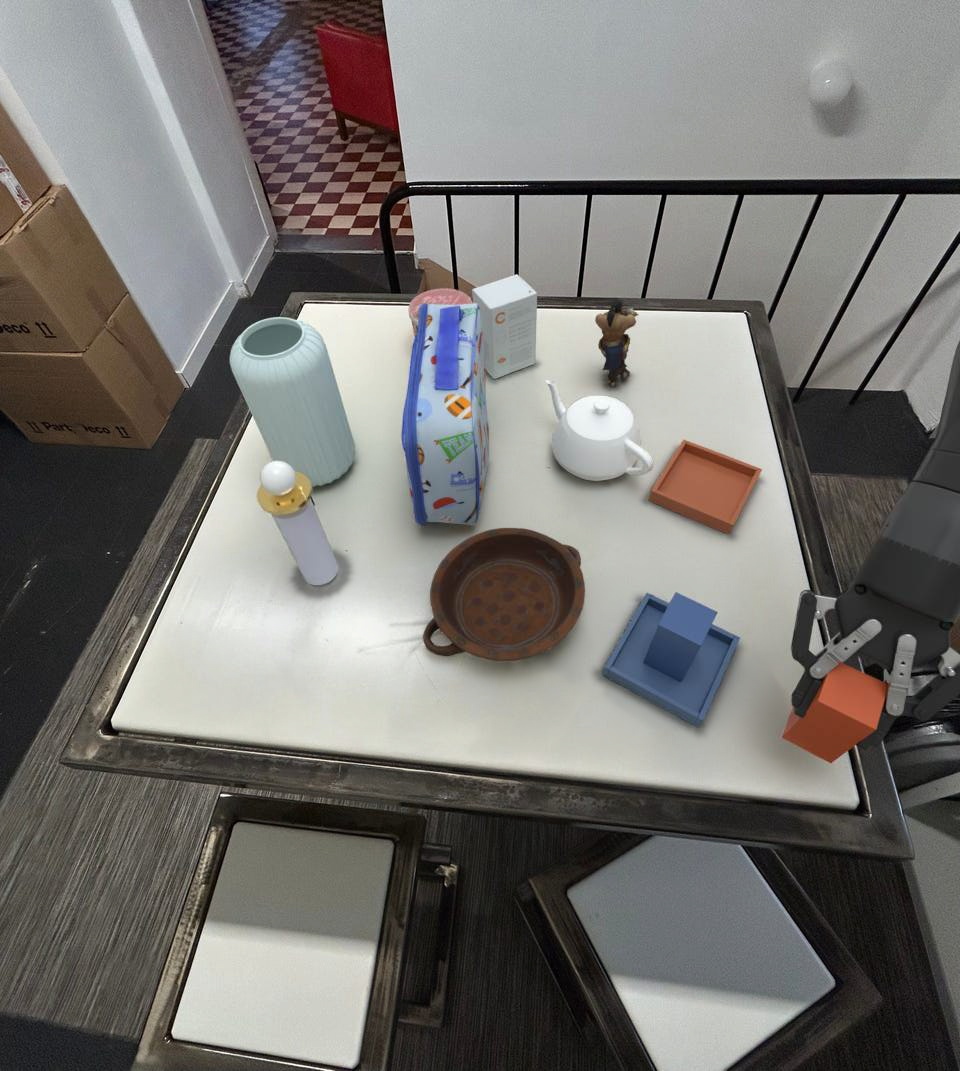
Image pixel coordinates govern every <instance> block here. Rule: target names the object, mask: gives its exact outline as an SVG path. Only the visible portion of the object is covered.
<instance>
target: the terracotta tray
mask: <svg viewBox="0 0 960 1071" xmlns="http://www.w3.org/2000/svg"><path fill="white" fill-rule="evenodd" d="M762 472H763V468H761V467H757V466H755V465H753V464H750V463H748V462H744V461H741V460H739V459H737V458H734V457H731V456H729V455H726V454H723V453H722V452H718V451H715V450H713V449H710V448H707V447H704V446H702V445H699V444H697V443H695V442H692V441H689V440H686V439H682V441H681V442H680V444H679V445H678V447H677V448H676V450H675V452H674V453H673V455H672V457H671V458H670V460H669V461H668V462H667V465H666V466H665V468H664V469H663V471H662V472H661V474H660V475H659V477H658V479H657V480H656V482H655V483H654V486H653V487H652V488H651V490H650V494H649V497H648V501H649V502H651V503H653V504H656V505H658V506H661V507H663V508H665V509H667V510H670V511H672V512H674V513H677V514H679V515H681V516H684V517H686V518H689V519H691V520H693V521H696V522H698V523H700V524H703V525H705V526H708V527H709V528H712V529H714V530H717V531H719V532H722V533H724V534H726V535H730V534H731V532H732V530H733V528H734V526H735V524H736V522H737V520H738V518H739V517H740V515H741V513H742V511H743V508H744V507H745V505H746V503H747V501H748V499H749V497H750V494H751V493H752V491H753V489H754V487H755V486H756V483H757V481H758V479H759V477H760V475H761V473H762Z"/></svg>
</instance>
